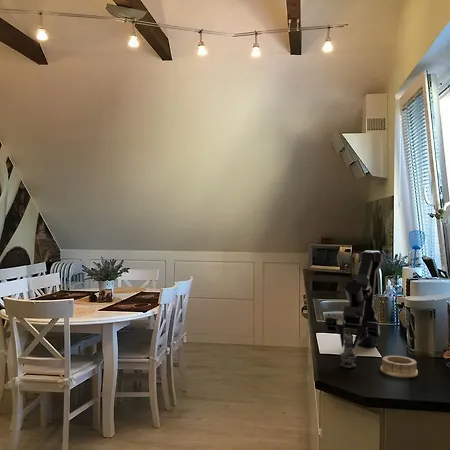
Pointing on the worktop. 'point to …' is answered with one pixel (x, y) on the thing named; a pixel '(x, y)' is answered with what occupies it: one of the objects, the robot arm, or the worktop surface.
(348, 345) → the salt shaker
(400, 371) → the beige round ring
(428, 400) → the worktop surface
